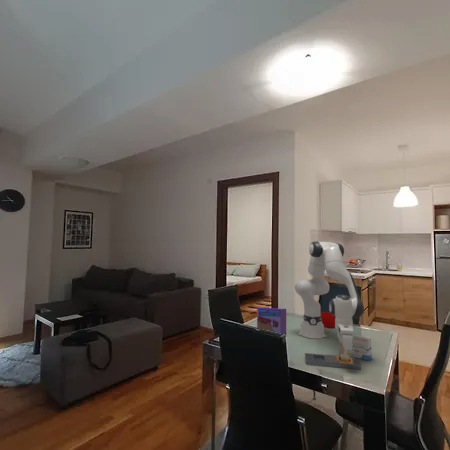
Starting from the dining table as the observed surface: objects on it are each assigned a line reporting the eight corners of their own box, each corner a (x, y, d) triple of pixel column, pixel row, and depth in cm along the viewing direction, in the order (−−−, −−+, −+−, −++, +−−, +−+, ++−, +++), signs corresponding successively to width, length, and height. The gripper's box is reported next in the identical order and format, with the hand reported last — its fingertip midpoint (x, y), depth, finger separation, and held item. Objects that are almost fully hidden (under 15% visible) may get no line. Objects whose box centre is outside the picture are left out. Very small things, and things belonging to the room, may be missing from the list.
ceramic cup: (345, 329, 223) (345, 316, 223) (321, 328, 225) (321, 315, 226) (341, 325, 235) (341, 312, 236) (319, 324, 238) (319, 311, 239)
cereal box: (256, 349, 177) (257, 308, 179) (257, 346, 182) (257, 307, 184) (286, 351, 175) (286, 310, 177) (285, 348, 180) (285, 308, 182)
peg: (339, 360, 159) (339, 341, 159) (347, 361, 158) (347, 342, 159) (341, 363, 155) (340, 344, 156) (349, 364, 154) (348, 344, 155)
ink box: (372, 358, 165) (371, 337, 166) (368, 361, 162) (368, 339, 163) (356, 354, 171) (356, 333, 172) (352, 356, 168) (352, 335, 169)
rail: (304, 357, 165) (304, 352, 165) (356, 362, 160) (356, 356, 160) (306, 364, 155) (306, 359, 155) (360, 369, 150) (360, 364, 150)
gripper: (334, 321, 168) (334, 345, 167) (341, 331, 148) (341, 359, 147) (346, 321, 167) (346, 346, 166) (354, 331, 147) (354, 360, 146)
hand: (344, 352), depth 157 cm, fingers closed on peg, 4 cm apart
